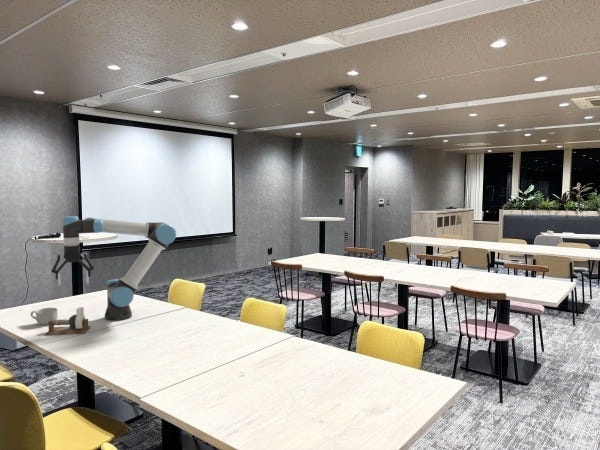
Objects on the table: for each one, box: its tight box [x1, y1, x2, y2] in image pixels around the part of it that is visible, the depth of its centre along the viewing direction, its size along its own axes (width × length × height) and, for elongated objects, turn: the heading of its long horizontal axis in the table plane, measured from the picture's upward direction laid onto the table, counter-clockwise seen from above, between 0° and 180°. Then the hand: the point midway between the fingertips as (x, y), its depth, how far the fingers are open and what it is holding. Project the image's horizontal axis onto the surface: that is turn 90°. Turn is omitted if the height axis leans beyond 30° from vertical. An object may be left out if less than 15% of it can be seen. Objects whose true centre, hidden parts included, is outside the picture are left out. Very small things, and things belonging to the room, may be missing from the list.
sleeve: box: [75, 306, 86, 328], centre depth 231 cm, size 3×6×10 cm, turn 8°
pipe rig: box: [44, 318, 92, 336], centre depth 230 cm, size 19×11×6 cm, turn 98°
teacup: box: [30, 307, 59, 326], centre depth 243 cm, size 14×11×8 cm
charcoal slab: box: [69, 314, 77, 330], centre depth 230 cm, size 2×6×6 cm, turn 8°
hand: (73, 284), depth 232 cm, fingers open, 13 cm apart
